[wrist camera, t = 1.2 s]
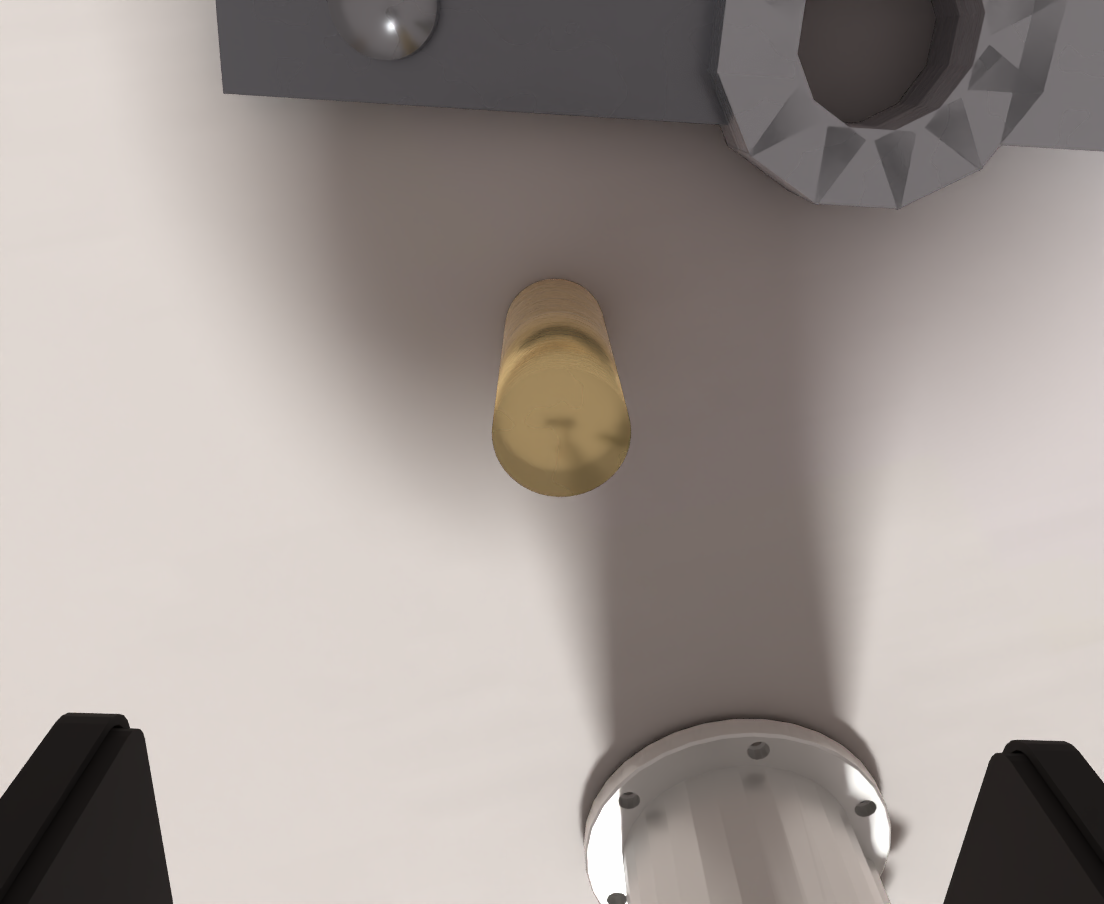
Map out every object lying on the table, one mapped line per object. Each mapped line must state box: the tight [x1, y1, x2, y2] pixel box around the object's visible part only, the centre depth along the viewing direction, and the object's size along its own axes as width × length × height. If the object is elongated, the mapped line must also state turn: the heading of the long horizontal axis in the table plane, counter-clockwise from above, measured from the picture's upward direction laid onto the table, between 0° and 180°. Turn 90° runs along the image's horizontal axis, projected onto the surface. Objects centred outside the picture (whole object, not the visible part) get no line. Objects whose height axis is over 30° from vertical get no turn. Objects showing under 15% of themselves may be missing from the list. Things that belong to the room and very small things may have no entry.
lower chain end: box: [216, 0, 960, 196], centre depth 24 cm, size 22×9×2 cm, turn 87°
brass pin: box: [492, 279, 631, 497], centre depth 25 cm, size 3×3×9 cm
